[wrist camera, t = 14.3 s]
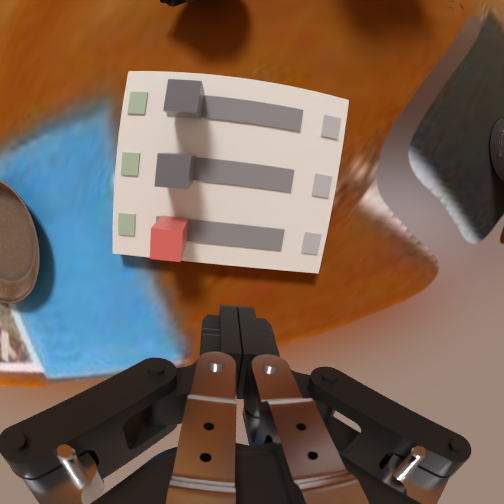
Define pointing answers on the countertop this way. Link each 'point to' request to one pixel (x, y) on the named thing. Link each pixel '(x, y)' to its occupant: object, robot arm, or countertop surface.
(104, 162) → the countertop surface
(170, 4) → the tape measure
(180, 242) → the block
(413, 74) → the countertop surface
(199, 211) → the breaker panel
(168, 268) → the countertop surface
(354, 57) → the countertop surface
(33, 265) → the saucer
